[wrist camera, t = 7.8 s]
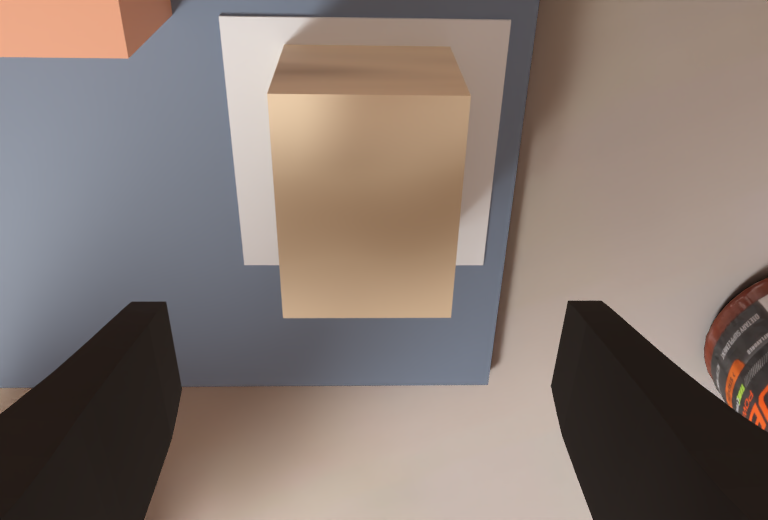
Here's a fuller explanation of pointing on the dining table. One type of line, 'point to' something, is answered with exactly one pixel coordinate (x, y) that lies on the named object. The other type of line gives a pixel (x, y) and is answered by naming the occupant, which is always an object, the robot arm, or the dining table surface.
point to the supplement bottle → (742, 353)
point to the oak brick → (367, 179)
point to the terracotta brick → (79, 27)
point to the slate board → (233, 195)
